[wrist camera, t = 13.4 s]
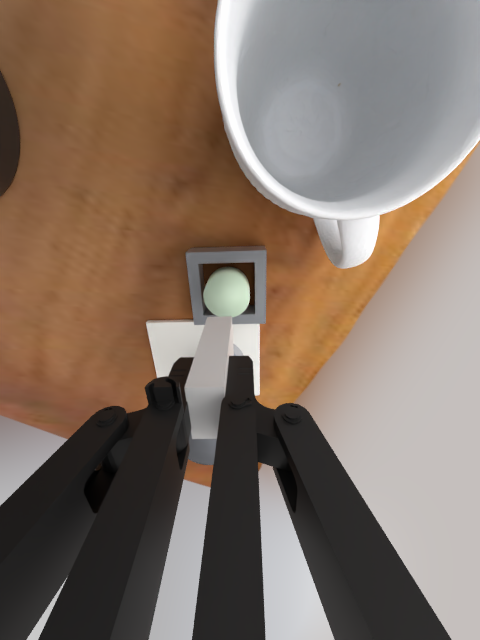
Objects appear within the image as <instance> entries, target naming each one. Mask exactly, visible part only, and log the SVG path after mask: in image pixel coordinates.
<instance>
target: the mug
mask: <svg viewBox="0 0 480 640" xmlns="http://www.w3.org/2000/svg"><path fill="white" fill-rule="evenodd" d="M214 68H215V80H216V88H217V94H218V99H219V104H220V108H221V112H222V116H223V122H224V129H225V131H226V133H227V137H228V139H229V143H230V145H231V149H232V151H233V153H234V156H235V158H236V161H237V162H238V164H239V166H240V168H241V169H242V171H243V172H244V174H245V176H246V178H247V179H249V180H250V182H251V184H252V185H253V186H254V187H256V189H257V191H258V192H260V193H261V194H263V196H264V197H265V198H266V199H269V200H271V201H272V203H274V204H277V205H278V206H279V207H281V208H284V209H286V210H288V211H290V212H293V213H297V214H299V215H305V216H308V217H310V218H313V219H314V223H315V225H316V228H317V231H318V234H319V237H320V240H321V242H322V245H323V247H324V250H325V252H326V254H327V256H328V258H329V259H330V261H331V262H332V263H333V264H334V265H335V266H336V267H338V268H351V267H355V266H357V265H360V264H362V263H363V262H365V261H366V260H367V259H368V258H369V257H370V256H371V254H372V252H373V249H374V246H375V243H376V239H377V235H378V229H379V215H381V214H385V213H387V212H390V211H392V210H395V209H397V208H399V207H402V206H404V205H406V204H408V203H410V202H412V201H413V200H415V199H416V198H418V197H419V196H421V195H423V194H424V193H426V192H427V191H429V190H430V189H431V188H433V187H434V186H435V185H437V184H438V183H439V182H440V181H442V180H443V179H444V178H445V177H446V176H448V175H449V174H450V173H451V172H452V171H453V170H454V169H455V168H456V167H457V166H458V165H459V164H460V163H461V162H462V160H463V159H464V158H465V157H466V156H467V155H468V153H469V152H470V151H471V150H472V149H473V148H474V146H475V145H476V144H477V143H478V141H479V140H480V0H218V4H217V11H216V19H215V30H214Z"/></svg>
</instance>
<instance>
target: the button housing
mask: <svg viewBox="0 0 480 640" xmlns="http://www.w3.org/2000/svg"><path fill="white" fill-rule="evenodd" d="M186 261H187V269H188V278H189V286H190V295H191V303H192V311H193V320H194V325H205V322H206V319H207V317H219V316H216V315H215V314H213V313H212V312H211V311H210V310H209V309H208V308H207V306H206V305H205V302H204V298H203V293H204V289H205V283H204V272H203V264H209V263H245V262H254V305H248V306H247V308H246V310H245V311H244V312H243V313H241V314H240V315H238V316H236V317H232V324H266V248H265V246H234V247H201V248H190V249H189V250H188V251H187V252H186Z"/></svg>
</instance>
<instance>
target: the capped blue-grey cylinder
mask: <svg viewBox="0 0 480 640" xmlns="http://www.w3.org/2000/svg"><path fill="white" fill-rule="evenodd" d="M234 356H236V355H235V354H234ZM216 441H217V439H192V435H191V432H190V437H189V445H190V452H189V456H188V459H189V460H191V461H193V462H196V463H199V464H204V465H214V457H215V449H216Z"/></svg>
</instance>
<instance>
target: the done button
mask: <svg viewBox="0 0 480 640" xmlns="http://www.w3.org/2000/svg"><path fill="white" fill-rule="evenodd" d="M203 298H204V302H205V305H206V306H207V308H208V309H209V310H210V311H211V312H212V313H213V314H215V315H216V316H219V317H222V316H232V317H236V316H238V315H240V314H241V313H243V312H244V311H245V310H246V308H247V306H248V304H249V301H250V287H249V281H248V279H247V277H246V275H245V274H244V273H243V272H242V271H241V270H239V269H237V268H234V267H228V266H227V267H221V268H219V269H217V270H215V271H214V272H213V273H212V274H211V276H210V277H209V279H208V282H207V284H206V286H205V289H204V293H203Z"/></svg>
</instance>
